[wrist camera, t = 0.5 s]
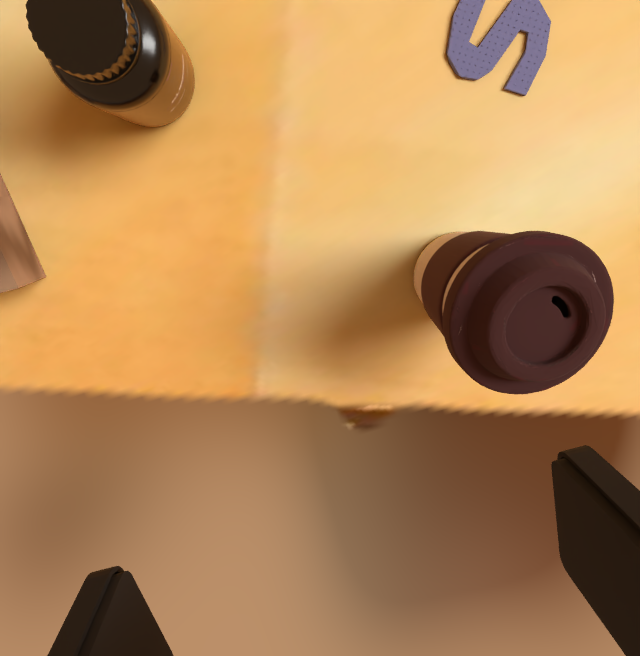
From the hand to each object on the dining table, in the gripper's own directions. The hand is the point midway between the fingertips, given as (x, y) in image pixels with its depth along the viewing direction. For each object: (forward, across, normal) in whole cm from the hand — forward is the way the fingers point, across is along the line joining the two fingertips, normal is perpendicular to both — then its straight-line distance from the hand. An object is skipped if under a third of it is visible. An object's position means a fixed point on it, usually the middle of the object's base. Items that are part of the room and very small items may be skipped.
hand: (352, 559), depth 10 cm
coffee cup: (+30, -13, +3) cm, 33 cm away
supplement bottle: (+31, +7, -17) cm, 36 cm away
